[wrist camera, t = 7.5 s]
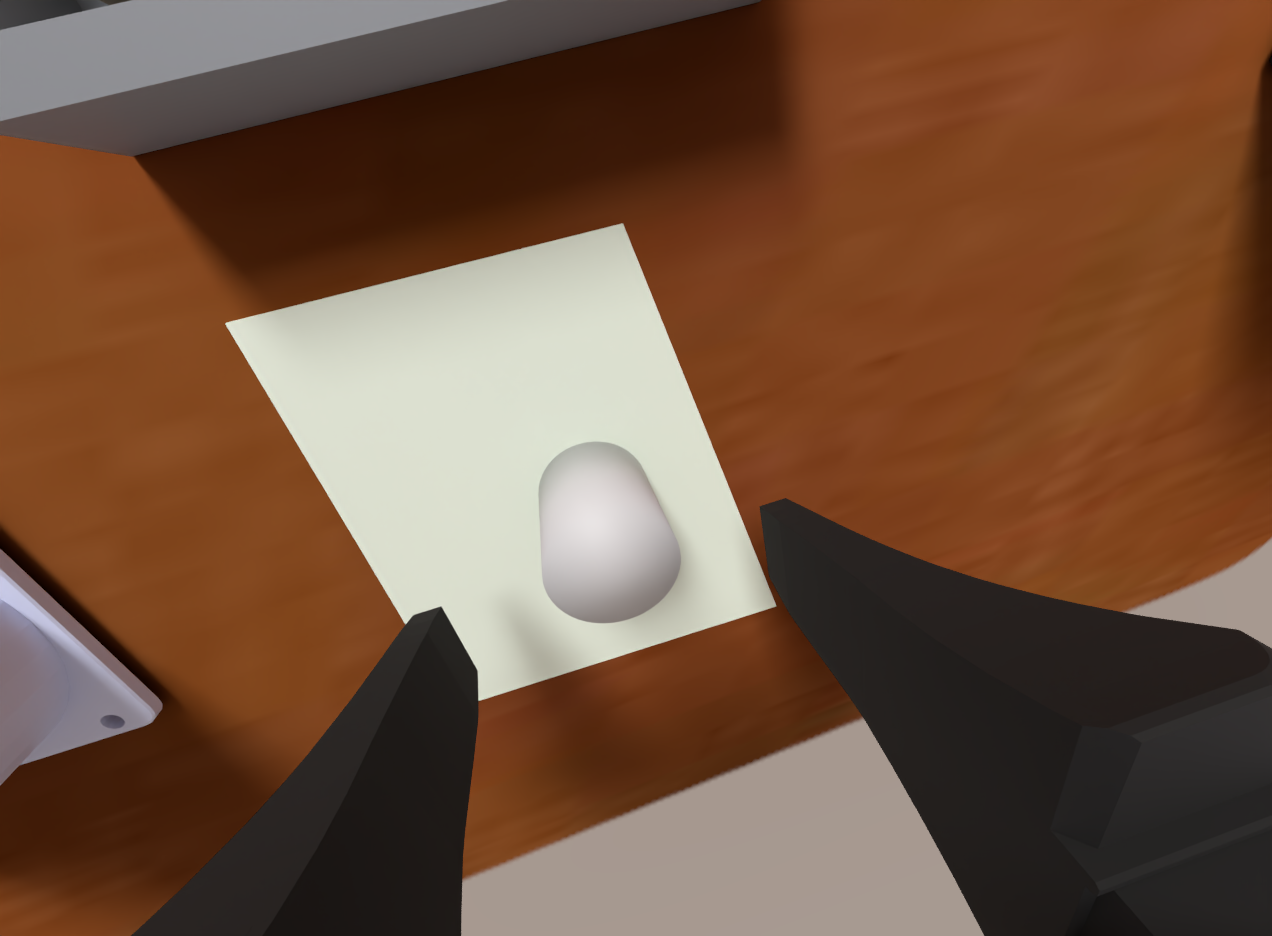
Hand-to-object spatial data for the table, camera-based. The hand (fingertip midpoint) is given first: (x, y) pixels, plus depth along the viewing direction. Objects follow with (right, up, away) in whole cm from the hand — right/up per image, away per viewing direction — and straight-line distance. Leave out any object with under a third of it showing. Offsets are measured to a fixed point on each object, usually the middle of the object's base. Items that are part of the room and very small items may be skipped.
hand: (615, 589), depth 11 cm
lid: (-1, +2, +3) cm, 4 cm away
